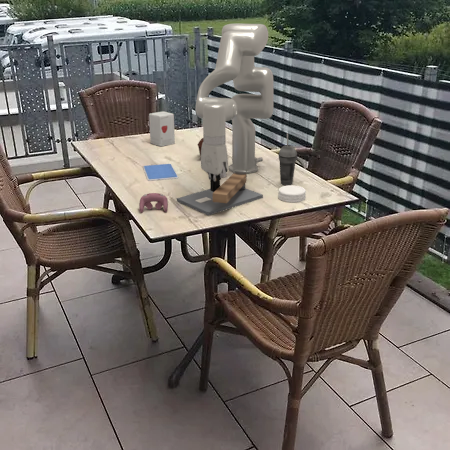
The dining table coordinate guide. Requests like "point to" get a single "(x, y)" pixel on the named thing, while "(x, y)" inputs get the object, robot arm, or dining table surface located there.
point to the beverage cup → (287, 163)
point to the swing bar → (230, 187)
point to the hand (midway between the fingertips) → (215, 190)
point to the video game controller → (153, 197)
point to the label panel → (206, 205)
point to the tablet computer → (160, 172)
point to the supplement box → (162, 128)
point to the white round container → (291, 193)
